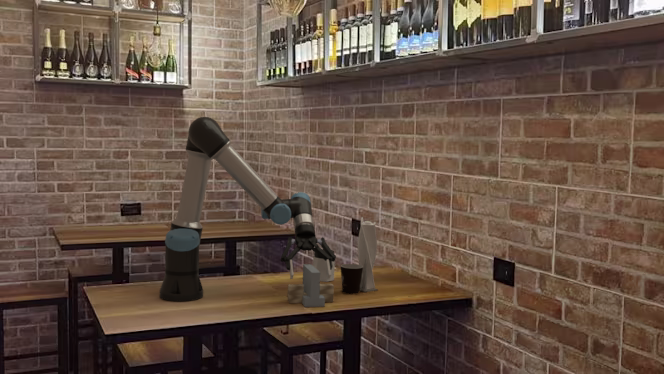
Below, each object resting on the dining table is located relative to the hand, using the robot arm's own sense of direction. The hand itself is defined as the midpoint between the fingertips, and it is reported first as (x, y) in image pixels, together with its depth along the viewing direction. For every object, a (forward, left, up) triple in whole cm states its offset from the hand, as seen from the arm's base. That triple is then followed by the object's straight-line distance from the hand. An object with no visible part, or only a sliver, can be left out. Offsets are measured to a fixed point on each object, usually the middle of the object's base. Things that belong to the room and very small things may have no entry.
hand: (310, 277), depth 229 cm
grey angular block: (+1, -1, -9) cm, 9 cm away
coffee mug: (-3, +22, -9) cm, 24 cm away
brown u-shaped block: (+1, -1, -9) cm, 9 cm away
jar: (-24, +25, -9) cm, 36 cm away
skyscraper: (-3, +29, -9) cm, 31 cm away
